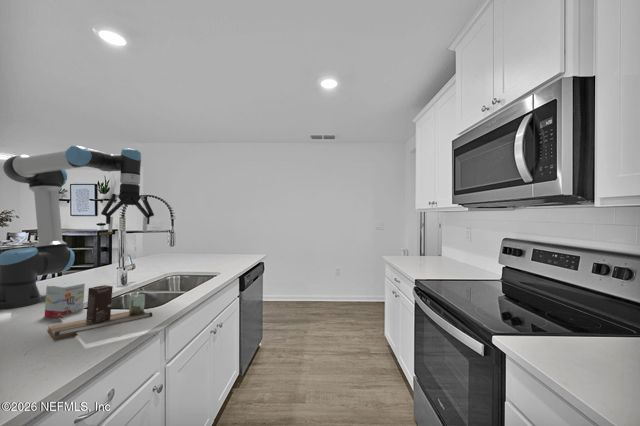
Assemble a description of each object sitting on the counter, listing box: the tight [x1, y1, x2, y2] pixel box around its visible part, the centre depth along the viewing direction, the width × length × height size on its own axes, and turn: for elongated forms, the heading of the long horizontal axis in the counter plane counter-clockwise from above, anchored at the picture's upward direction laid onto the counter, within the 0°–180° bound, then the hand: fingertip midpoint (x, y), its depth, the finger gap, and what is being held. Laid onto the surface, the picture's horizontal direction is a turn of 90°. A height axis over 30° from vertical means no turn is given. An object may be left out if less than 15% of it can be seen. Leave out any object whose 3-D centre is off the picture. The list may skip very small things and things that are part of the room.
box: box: [85, 284, 113, 324], centre depth 109 cm, size 6×4×12 cm
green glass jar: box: [128, 293, 146, 316], centre depth 118 cm, size 5×5×7 cm
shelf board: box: [47, 311, 153, 341], centre depth 108 cm, size 12×28×2 cm, turn 139°
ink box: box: [44, 281, 86, 319], centre depth 118 cm, size 9×9×12 cm
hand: (128, 231), depth 135 cm, fingers open, 13 cm apart
